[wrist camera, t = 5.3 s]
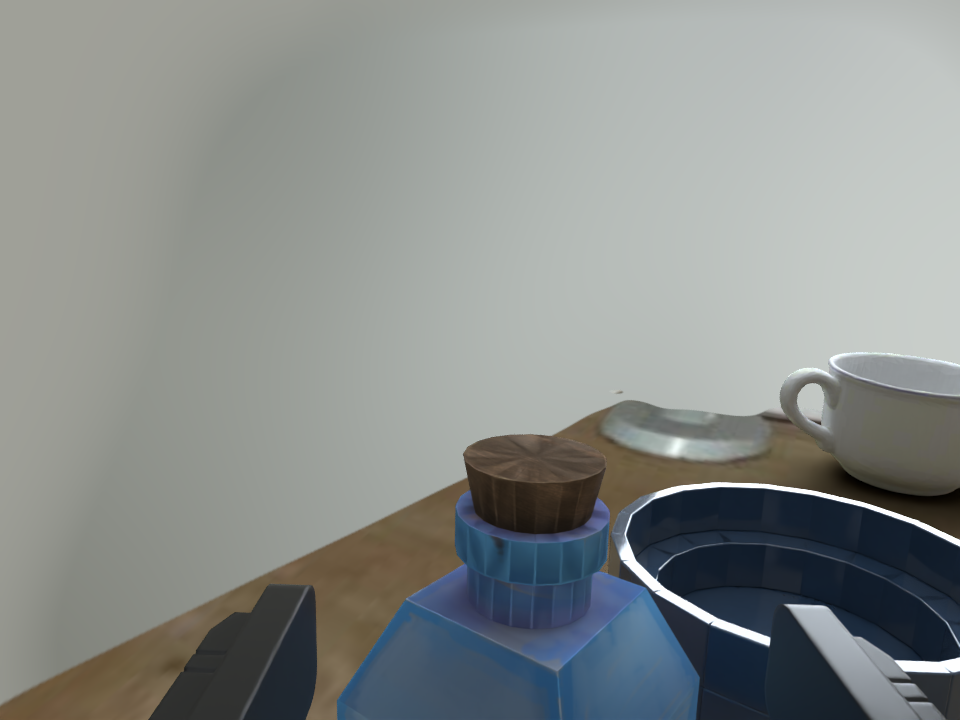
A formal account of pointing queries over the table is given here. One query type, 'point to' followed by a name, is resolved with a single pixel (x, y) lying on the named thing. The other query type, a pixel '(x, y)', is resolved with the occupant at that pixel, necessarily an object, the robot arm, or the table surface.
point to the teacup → (886, 419)
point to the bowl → (790, 583)
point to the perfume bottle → (527, 609)
